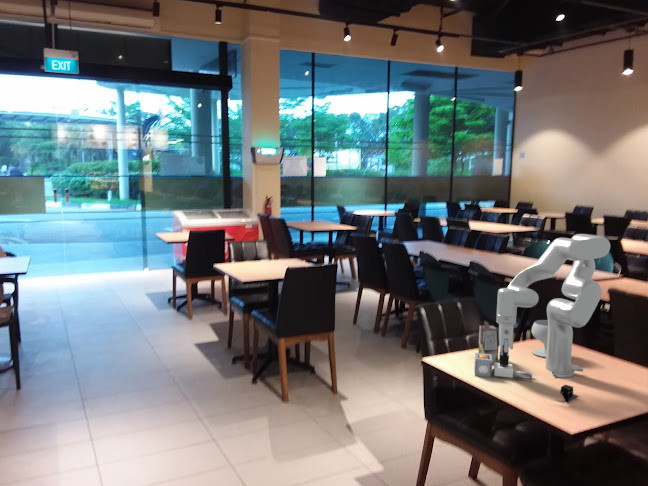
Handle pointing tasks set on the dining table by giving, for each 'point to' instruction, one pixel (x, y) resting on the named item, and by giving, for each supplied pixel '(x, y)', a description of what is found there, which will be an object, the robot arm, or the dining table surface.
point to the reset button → (483, 356)
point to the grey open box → (483, 365)
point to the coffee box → (489, 341)
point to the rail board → (515, 376)
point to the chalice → (540, 336)
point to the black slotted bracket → (568, 393)
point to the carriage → (503, 370)
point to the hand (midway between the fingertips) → (503, 362)
